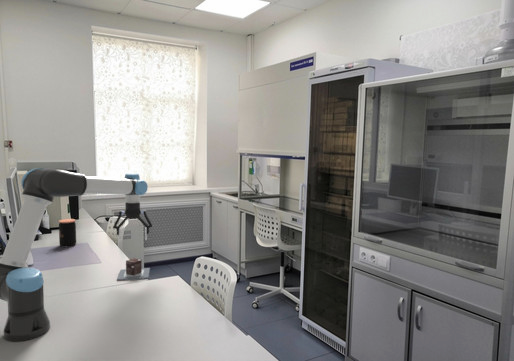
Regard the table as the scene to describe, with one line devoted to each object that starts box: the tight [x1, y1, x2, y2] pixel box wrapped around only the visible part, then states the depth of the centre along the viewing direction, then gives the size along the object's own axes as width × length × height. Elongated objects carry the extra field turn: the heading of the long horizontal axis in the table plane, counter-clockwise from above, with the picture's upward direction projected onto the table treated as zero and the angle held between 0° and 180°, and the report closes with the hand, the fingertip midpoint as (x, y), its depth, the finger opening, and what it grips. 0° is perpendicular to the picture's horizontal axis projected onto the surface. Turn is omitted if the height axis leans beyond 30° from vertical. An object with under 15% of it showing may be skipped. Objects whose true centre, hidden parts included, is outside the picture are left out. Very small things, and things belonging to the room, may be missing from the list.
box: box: [125, 257, 143, 275], centre depth 207 cm, size 6×6×7 cm
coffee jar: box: [58, 218, 77, 247], centre depth 265 cm, size 11×11×18 cm
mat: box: [116, 267, 151, 282], centre depth 207 cm, size 16×16×1 cm
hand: (133, 240), depth 205 cm, fingers open, 13 cm apart
